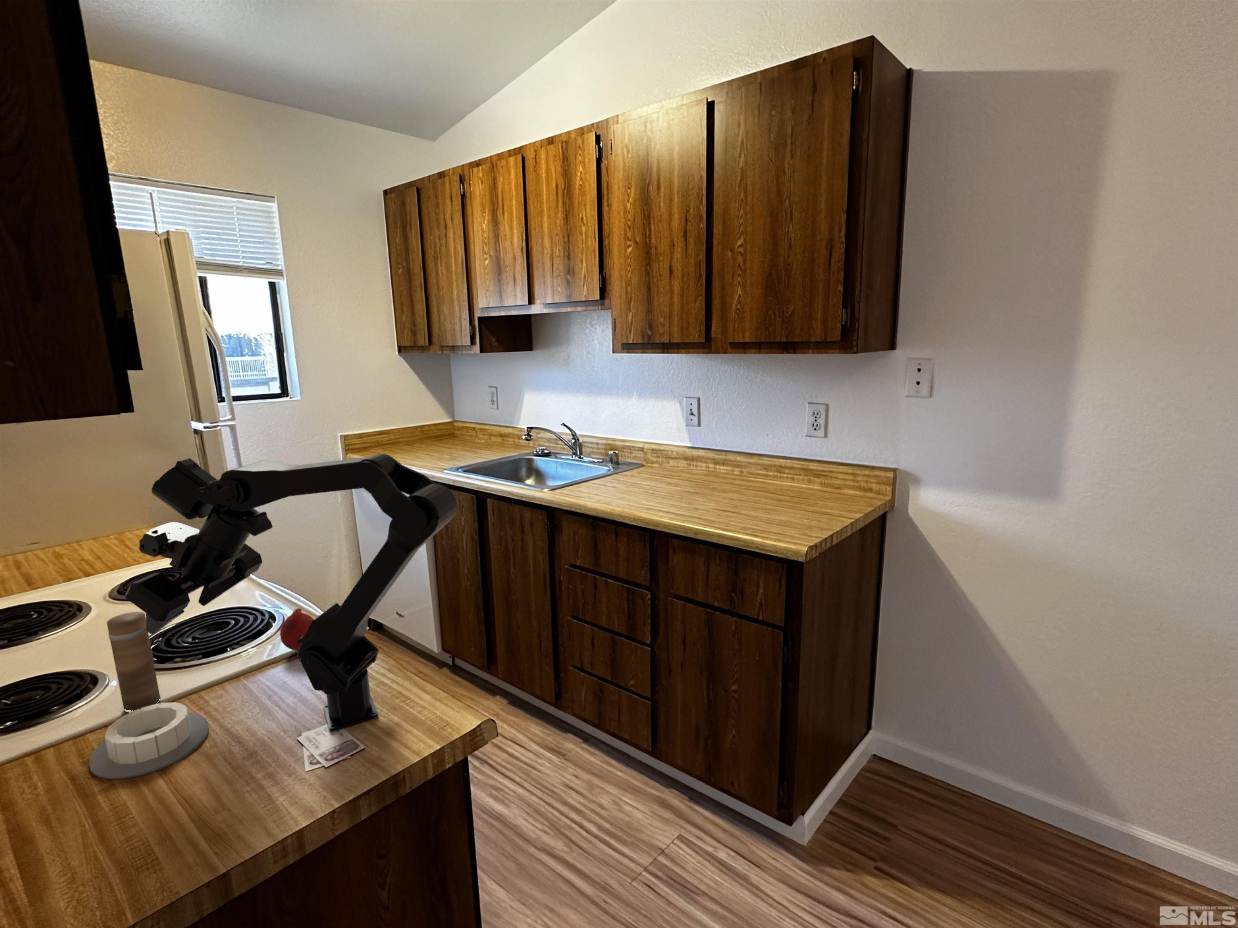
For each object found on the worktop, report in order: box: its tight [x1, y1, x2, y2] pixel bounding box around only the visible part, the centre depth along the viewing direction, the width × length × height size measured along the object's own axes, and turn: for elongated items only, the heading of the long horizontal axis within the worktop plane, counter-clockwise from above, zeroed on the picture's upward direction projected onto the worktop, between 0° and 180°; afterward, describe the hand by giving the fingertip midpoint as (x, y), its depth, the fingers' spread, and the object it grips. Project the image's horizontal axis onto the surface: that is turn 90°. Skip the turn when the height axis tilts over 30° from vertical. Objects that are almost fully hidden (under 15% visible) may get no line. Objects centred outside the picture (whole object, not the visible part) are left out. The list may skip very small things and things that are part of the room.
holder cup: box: [88, 701, 210, 780], centre depth 85 cm, size 13×13×4 cm
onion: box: [279, 607, 315, 652], centre depth 109 cm, size 6×6×8 cm
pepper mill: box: [106, 611, 161, 711], centre depth 93 cm, size 4×4×14 cm
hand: (177, 617), depth 92 cm, fingers open, 9 cm apart
